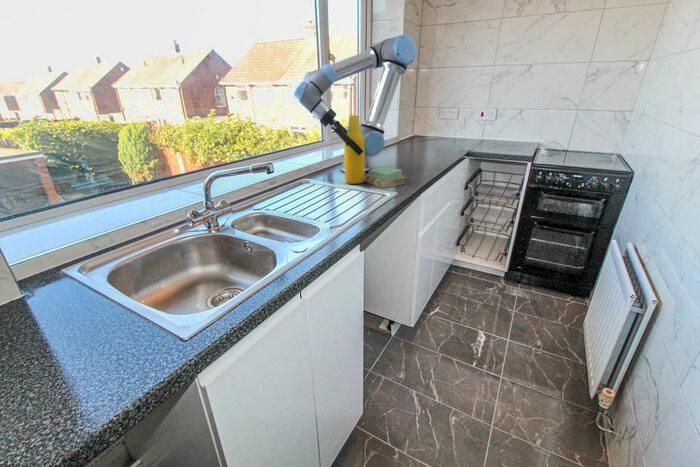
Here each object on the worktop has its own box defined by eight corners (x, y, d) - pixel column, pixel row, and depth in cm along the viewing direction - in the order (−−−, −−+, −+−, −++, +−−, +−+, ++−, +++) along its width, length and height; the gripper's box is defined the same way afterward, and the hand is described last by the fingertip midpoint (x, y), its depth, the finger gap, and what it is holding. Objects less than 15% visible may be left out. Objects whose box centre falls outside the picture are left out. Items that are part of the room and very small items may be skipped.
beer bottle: (367, 183, 150) (367, 116, 138) (347, 184, 148) (345, 116, 137) (361, 178, 159) (361, 114, 147) (343, 179, 157) (341, 115, 145)
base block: (365, 181, 155) (365, 175, 154) (387, 178, 161) (388, 172, 160) (382, 188, 145) (382, 181, 144) (405, 183, 151) (405, 177, 150)
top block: (368, 176, 152) (368, 170, 151) (383, 172, 159) (383, 166, 158) (387, 180, 145) (387, 174, 144) (402, 176, 152) (402, 169, 151)
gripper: (321, 118, 153) (356, 152, 159) (315, 123, 133) (354, 162, 139) (332, 106, 151) (367, 141, 156) (327, 109, 131) (367, 149, 137)
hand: (361, 151), depth 148 cm, fingers closed on beer bottle, 9 cm apart
